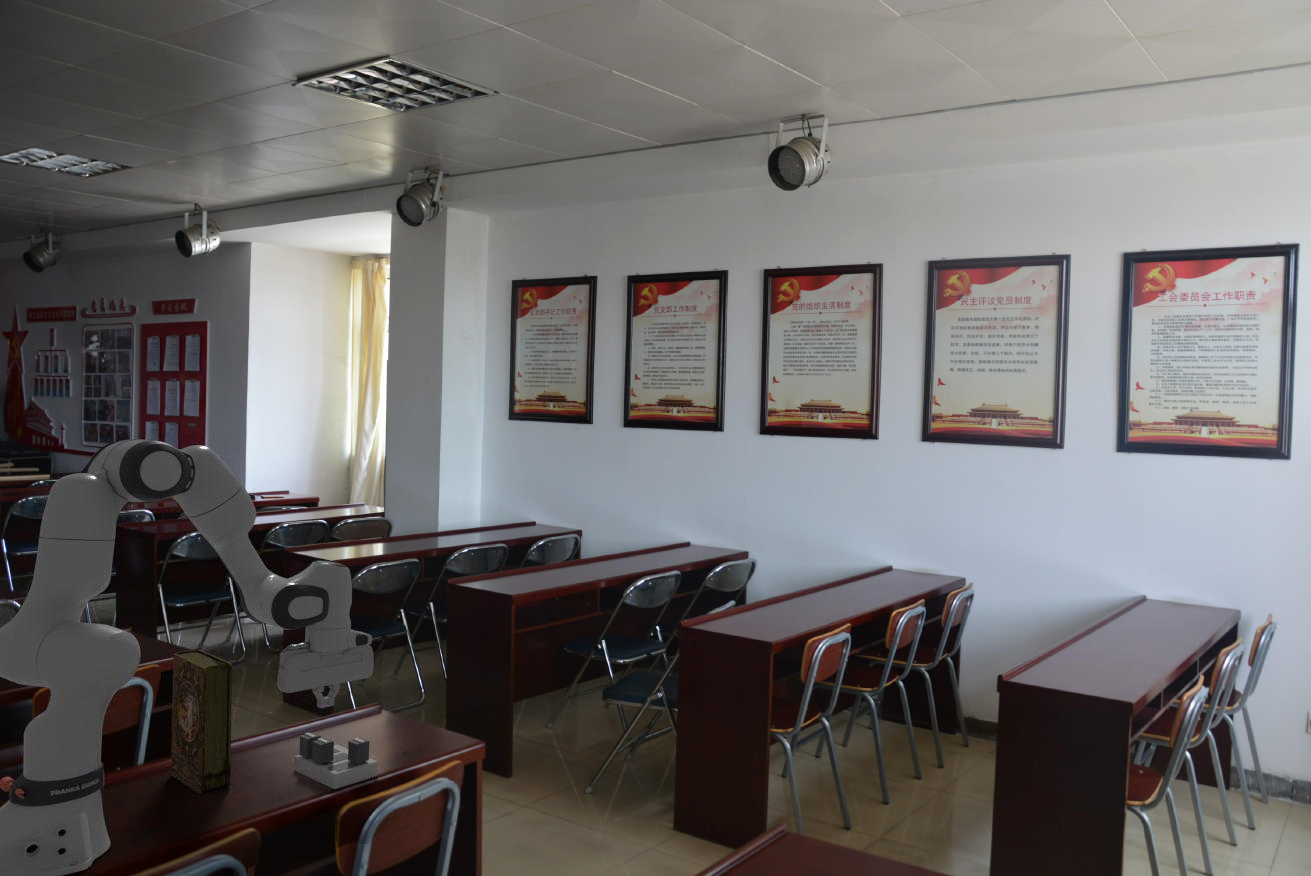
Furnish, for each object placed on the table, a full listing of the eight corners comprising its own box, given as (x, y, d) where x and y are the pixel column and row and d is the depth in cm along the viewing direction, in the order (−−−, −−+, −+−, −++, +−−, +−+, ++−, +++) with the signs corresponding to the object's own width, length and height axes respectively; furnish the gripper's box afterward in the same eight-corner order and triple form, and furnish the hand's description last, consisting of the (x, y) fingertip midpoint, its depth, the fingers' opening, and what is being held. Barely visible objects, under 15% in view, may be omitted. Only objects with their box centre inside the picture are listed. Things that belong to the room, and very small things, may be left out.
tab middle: (320, 764, 194) (320, 743, 194) (312, 760, 196) (312, 740, 196) (333, 760, 196) (333, 739, 196) (325, 756, 198) (325, 736, 198)
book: (168, 773, 196) (170, 652, 195) (195, 766, 200) (198, 648, 199) (201, 796, 185) (204, 668, 184) (230, 788, 189) (232, 663, 188)
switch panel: (334, 789, 190) (334, 773, 190) (294, 770, 199) (294, 755, 199) (377, 775, 197) (377, 760, 197) (336, 757, 207) (337, 743, 207)
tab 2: (356, 763, 195) (356, 743, 195) (347, 760, 196) (348, 739, 196) (368, 759, 197) (369, 739, 197) (360, 756, 199) (360, 736, 199)
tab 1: (307, 758, 197) (307, 737, 197) (299, 754, 199) (299, 734, 199) (320, 754, 199) (320, 734, 199) (312, 751, 201) (312, 731, 201)
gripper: (288, 648, 186) (286, 719, 186) (378, 635, 201) (376, 700, 201) (272, 643, 190) (269, 713, 190) (361, 630, 205) (359, 694, 205)
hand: (325, 706), depth 196 cm, fingers closed
